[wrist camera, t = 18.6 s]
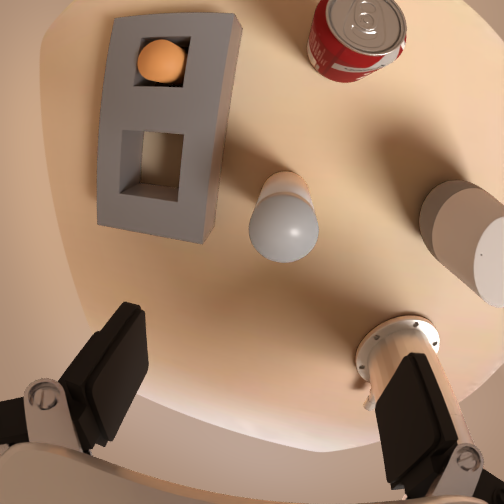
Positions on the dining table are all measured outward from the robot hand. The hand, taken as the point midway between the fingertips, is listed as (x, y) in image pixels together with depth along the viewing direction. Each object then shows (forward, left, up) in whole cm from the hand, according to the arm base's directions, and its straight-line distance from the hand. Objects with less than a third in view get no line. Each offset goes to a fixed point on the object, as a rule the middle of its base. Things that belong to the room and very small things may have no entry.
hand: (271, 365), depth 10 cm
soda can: (+16, -3, -24) cm, 29 cm away
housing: (+5, +13, -24) cm, 28 cm away
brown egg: (+12, +13, -23) cm, 29 cm away
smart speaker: (+2, -19, -24) cm, 31 cm away
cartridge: (0, 0, -24) cm, 24 cm away
